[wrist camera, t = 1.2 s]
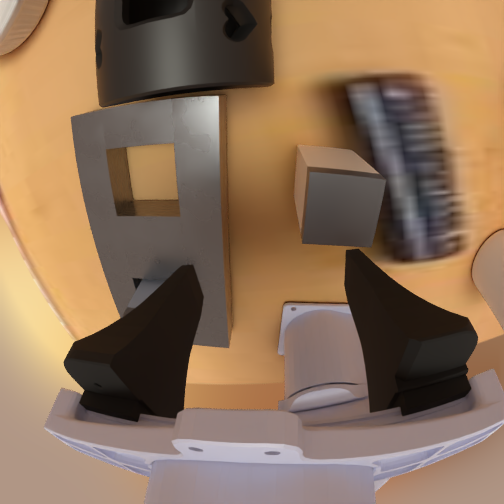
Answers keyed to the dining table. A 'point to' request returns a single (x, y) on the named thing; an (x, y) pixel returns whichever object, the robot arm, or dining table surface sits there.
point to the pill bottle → (491, 274)
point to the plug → (336, 197)
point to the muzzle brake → (180, 47)
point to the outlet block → (161, 201)
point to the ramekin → (18, 21)
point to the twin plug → (142, 293)
